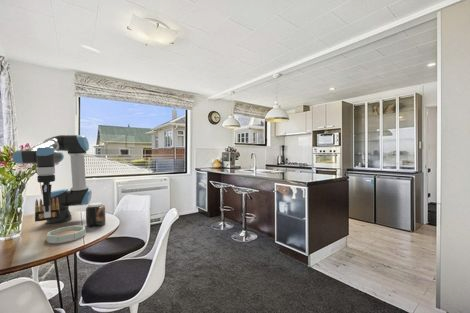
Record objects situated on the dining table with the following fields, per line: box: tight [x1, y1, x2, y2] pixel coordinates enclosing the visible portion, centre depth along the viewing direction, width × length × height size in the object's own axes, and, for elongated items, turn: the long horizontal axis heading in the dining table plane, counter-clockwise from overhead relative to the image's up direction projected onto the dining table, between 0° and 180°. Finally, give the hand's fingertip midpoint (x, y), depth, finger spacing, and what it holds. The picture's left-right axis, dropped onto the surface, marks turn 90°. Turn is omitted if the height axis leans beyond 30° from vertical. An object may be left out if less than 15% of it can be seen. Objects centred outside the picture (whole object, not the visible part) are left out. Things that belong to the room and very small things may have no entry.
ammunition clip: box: [34, 197, 60, 222], centre depth 126 cm, size 11×2×12 cm, turn 124°
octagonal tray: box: [46, 224, 87, 244], centre depth 137 cm, size 19×19×4 cm
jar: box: [85, 202, 107, 228], centre depth 160 cm, size 12×12×15 cm
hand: (47, 216), depth 126 cm, fingers closed on ammunition clip, 2 cm apart
